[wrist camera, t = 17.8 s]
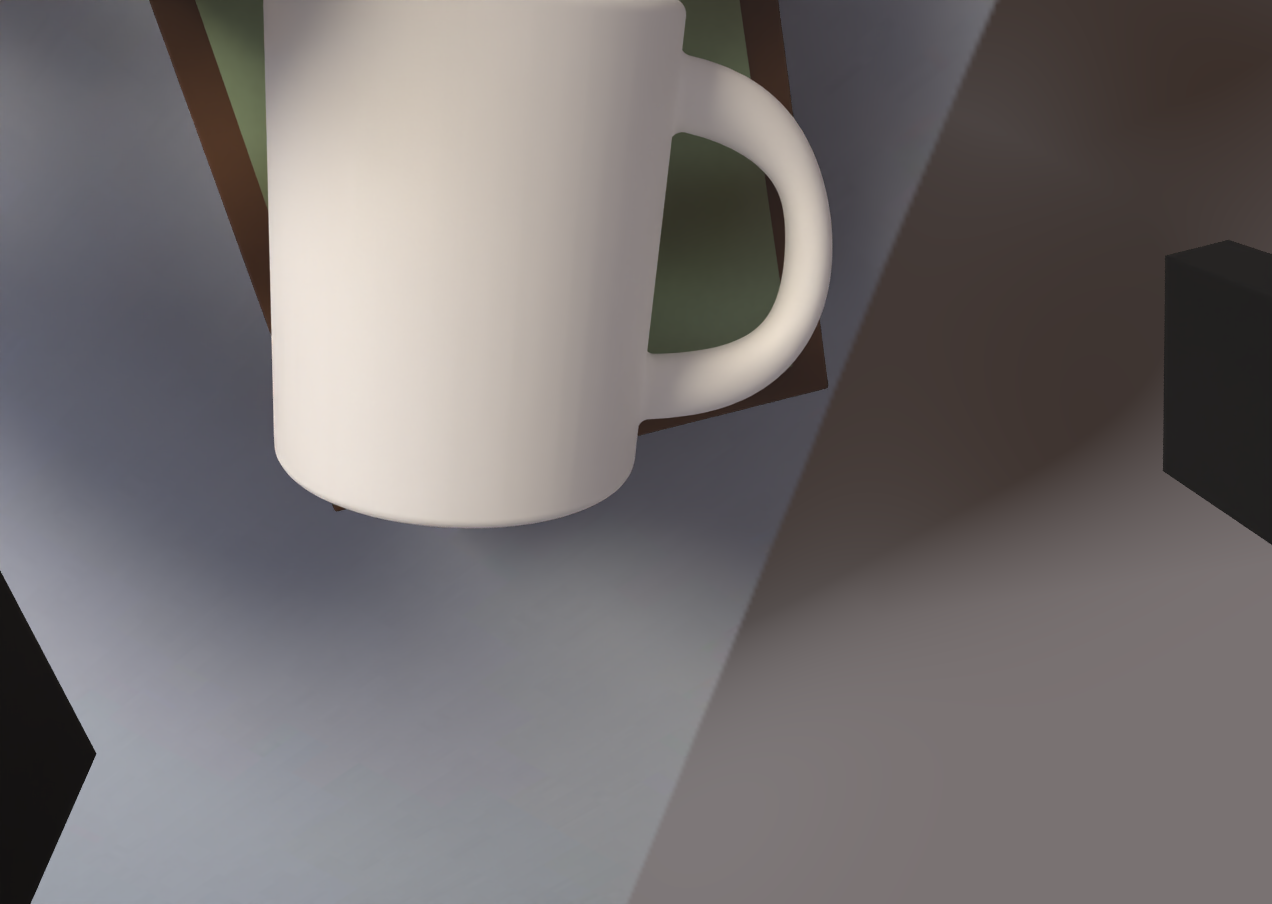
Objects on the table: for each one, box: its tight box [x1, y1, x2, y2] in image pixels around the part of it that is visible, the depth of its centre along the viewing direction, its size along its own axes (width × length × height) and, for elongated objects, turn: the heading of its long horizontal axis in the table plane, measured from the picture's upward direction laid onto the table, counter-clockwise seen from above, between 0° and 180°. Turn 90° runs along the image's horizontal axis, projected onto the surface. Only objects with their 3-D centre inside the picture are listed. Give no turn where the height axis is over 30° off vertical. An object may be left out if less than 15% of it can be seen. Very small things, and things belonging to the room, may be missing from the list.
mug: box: [263, 0, 832, 528], centre depth 23 cm, size 12×10×8 cm
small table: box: [149, 0, 828, 511], centre depth 30 cm, size 14×14×6 cm
